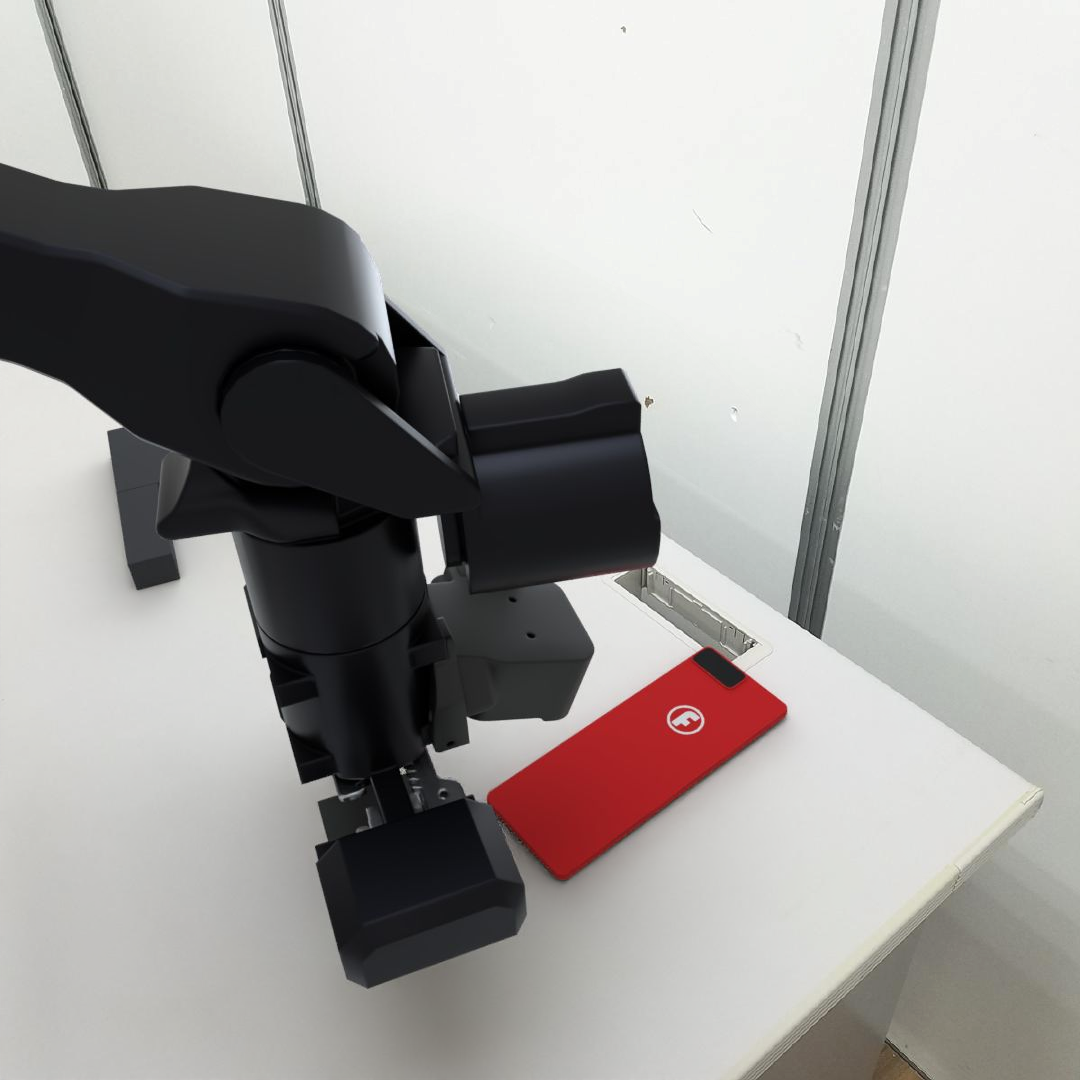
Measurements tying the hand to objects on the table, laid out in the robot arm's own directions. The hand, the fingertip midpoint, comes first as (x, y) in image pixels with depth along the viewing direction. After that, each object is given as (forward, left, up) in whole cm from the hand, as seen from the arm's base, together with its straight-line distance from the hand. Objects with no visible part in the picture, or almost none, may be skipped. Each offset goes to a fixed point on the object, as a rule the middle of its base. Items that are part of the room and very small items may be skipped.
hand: (394, 856), depth 48 cm
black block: (0, 0, -1) cm, 1 cm away
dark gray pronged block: (-3, +32, -3) cm, 32 cm away
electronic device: (+13, +3, -3) cm, 14 cm away
